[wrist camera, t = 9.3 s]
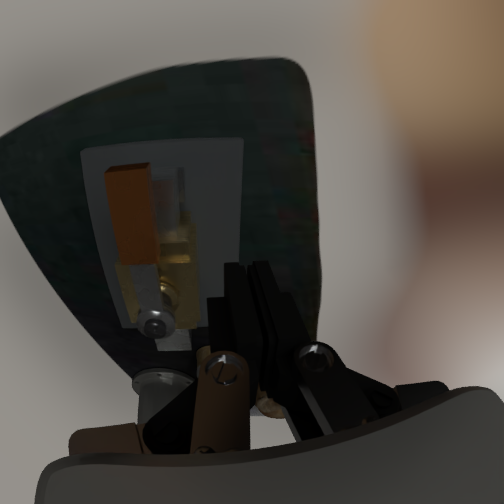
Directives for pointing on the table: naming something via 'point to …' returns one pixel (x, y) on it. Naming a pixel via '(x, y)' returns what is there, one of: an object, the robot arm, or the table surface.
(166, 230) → the valve
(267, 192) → the table surface
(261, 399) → the pipe
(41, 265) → the table surface
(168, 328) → the lever
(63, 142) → the table surface
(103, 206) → the valve board
